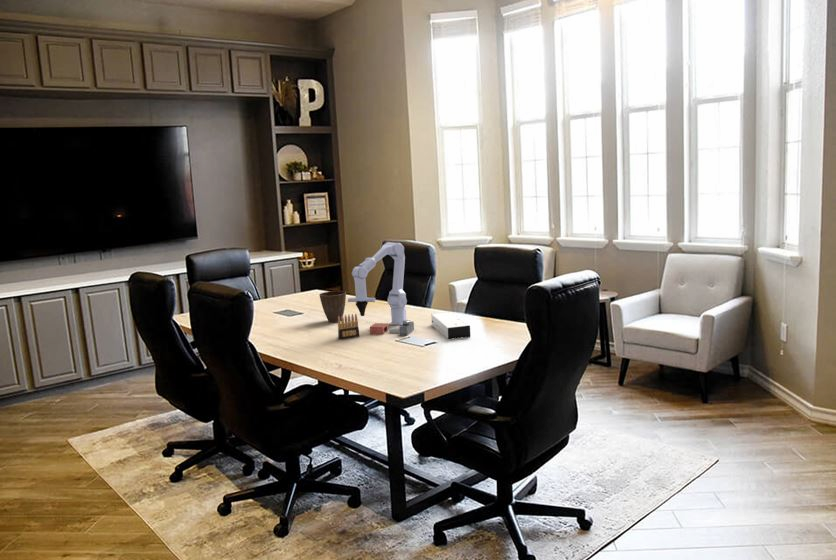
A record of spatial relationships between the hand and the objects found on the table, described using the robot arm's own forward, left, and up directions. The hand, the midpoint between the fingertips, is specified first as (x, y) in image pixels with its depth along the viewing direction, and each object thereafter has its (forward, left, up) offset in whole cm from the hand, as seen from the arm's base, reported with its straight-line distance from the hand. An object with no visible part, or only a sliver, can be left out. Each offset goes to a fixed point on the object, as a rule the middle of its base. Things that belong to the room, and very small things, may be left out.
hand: (362, 315), depth 353 cm
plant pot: (-24, -26, -9) cm, 37 cm away
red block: (0, +9, -9) cm, 12 cm away
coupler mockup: (0, +20, -9) cm, 22 cm away
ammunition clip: (+12, -3, -9) cm, 15 cm away
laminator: (-5, +45, -9) cm, 46 cm away
